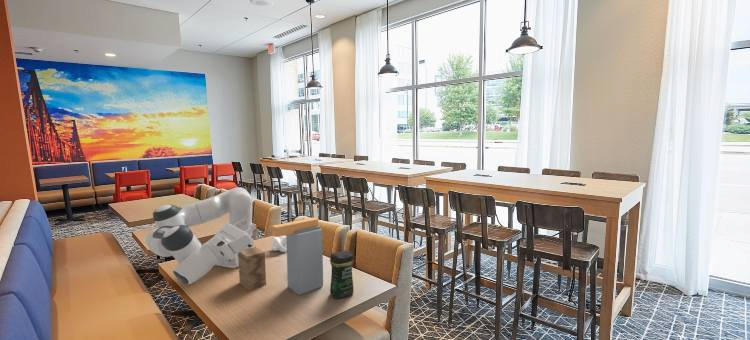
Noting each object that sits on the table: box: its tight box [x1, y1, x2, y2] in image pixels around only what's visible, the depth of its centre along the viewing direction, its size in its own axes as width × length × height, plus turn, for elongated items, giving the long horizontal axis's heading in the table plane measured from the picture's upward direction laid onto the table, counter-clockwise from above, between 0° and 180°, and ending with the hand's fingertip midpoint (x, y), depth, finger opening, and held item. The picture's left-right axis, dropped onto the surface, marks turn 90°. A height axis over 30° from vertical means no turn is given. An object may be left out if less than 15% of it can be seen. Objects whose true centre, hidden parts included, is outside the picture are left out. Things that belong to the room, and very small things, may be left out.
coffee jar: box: [329, 249, 355, 299], centre depth 146 cm, size 10×8×19 cm
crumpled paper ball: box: [271, 235, 287, 253], centre depth 200 cm, size 11×12×9 cm
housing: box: [285, 225, 324, 295], centre depth 153 cm, size 12×10×27 cm
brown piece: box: [238, 246, 267, 291], centre depth 156 cm, size 8×10×15 cm
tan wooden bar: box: [271, 217, 319, 237], centre depth 148 cm, size 20×4×4 cm, turn 133°
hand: (250, 223), depth 135 cm, fingers open, 8 cm apart
